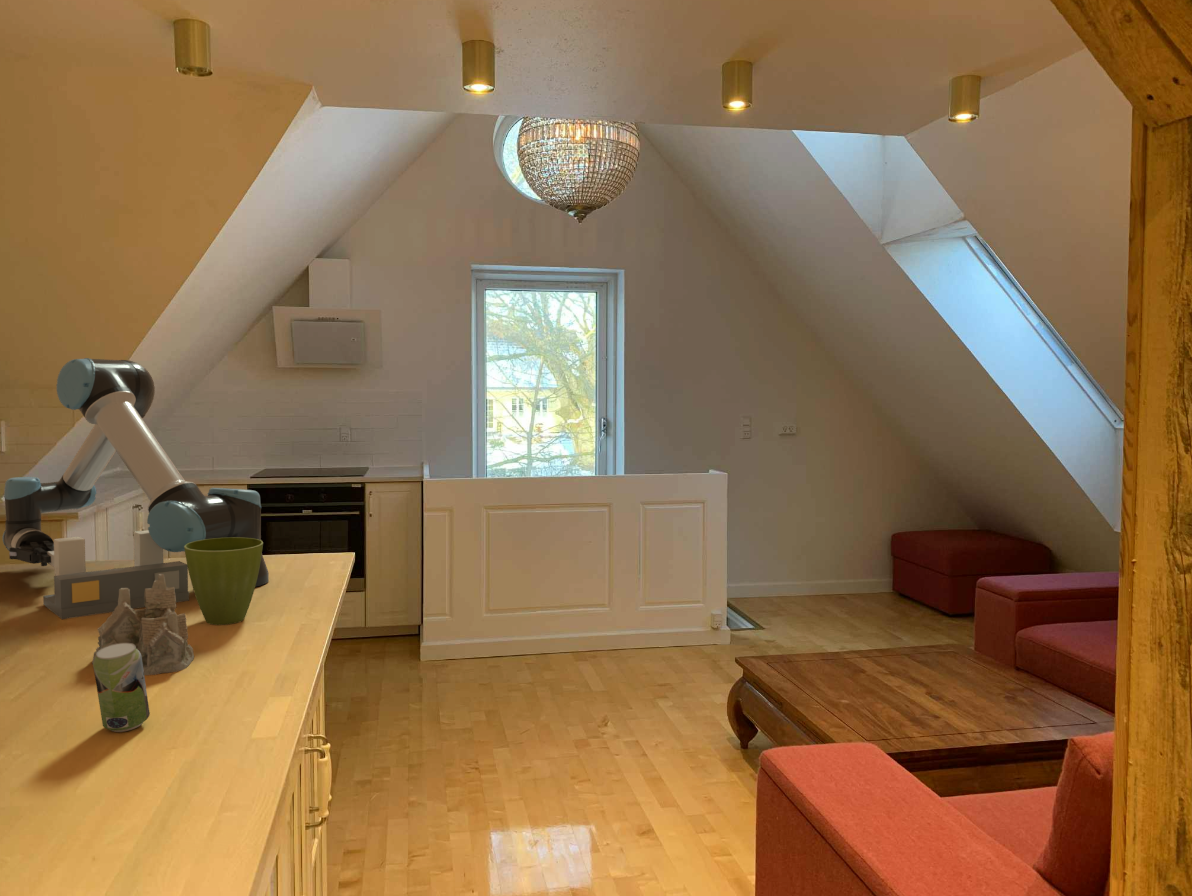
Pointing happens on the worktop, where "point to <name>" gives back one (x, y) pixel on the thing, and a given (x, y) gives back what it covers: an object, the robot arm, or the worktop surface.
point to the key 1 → (69, 556)
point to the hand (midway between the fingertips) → (58, 561)
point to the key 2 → (146, 549)
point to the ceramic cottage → (150, 629)
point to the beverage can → (121, 687)
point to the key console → (112, 588)
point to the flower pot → (224, 576)
